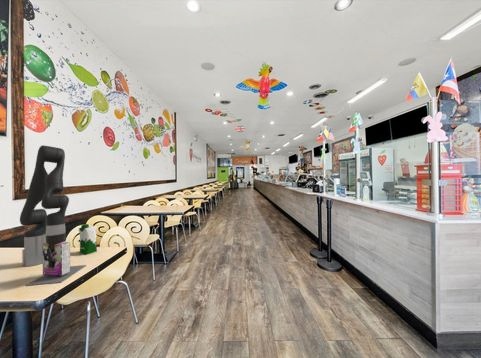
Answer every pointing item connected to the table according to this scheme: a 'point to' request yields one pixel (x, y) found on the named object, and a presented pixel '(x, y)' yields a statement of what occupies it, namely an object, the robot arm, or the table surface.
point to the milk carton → (87, 239)
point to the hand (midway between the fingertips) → (56, 265)
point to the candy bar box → (58, 259)
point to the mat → (56, 277)
